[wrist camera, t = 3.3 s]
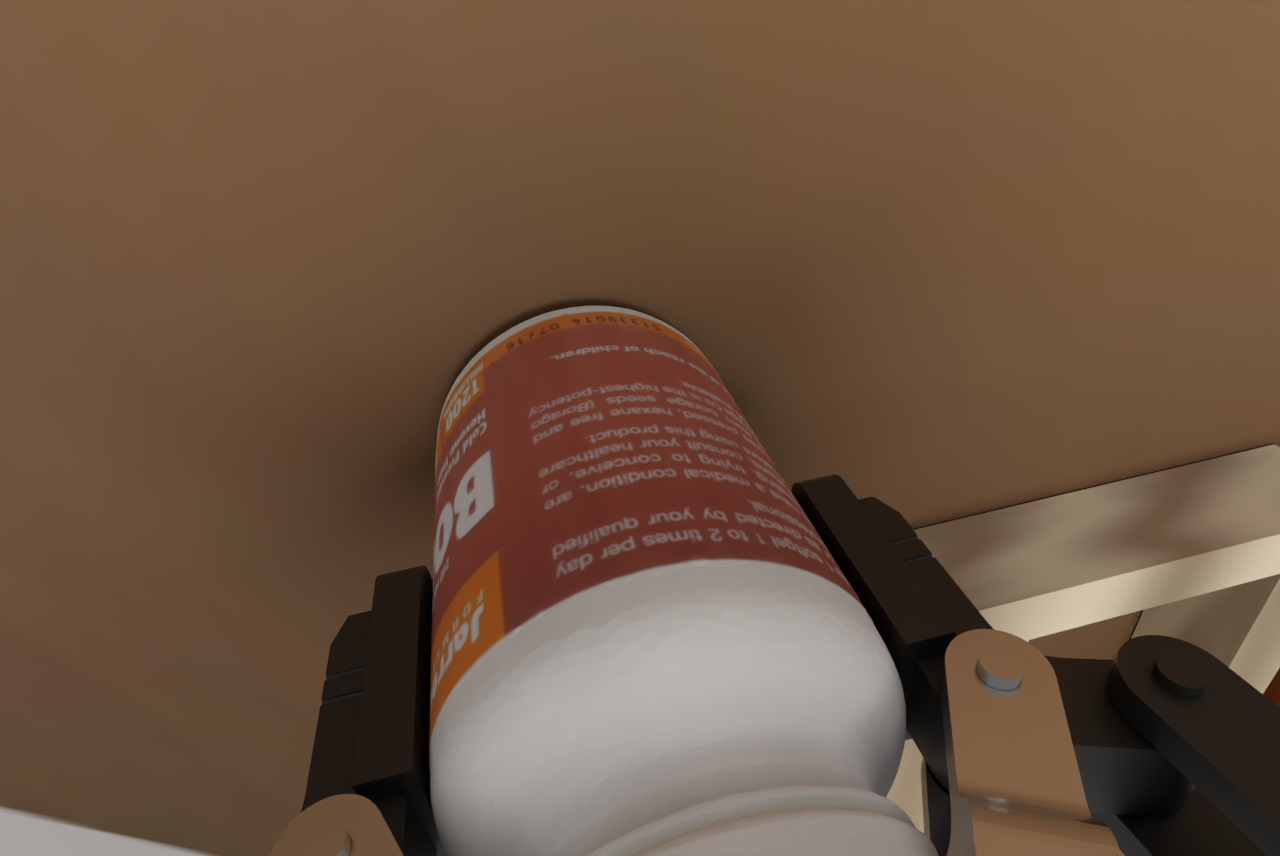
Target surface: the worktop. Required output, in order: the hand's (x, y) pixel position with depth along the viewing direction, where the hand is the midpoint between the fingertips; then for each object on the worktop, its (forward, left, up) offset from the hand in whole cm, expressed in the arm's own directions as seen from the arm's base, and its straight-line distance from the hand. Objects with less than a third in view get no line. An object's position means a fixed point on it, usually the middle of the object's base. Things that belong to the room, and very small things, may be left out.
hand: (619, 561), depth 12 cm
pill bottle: (0, 0, -4) cm, 4 cm away
